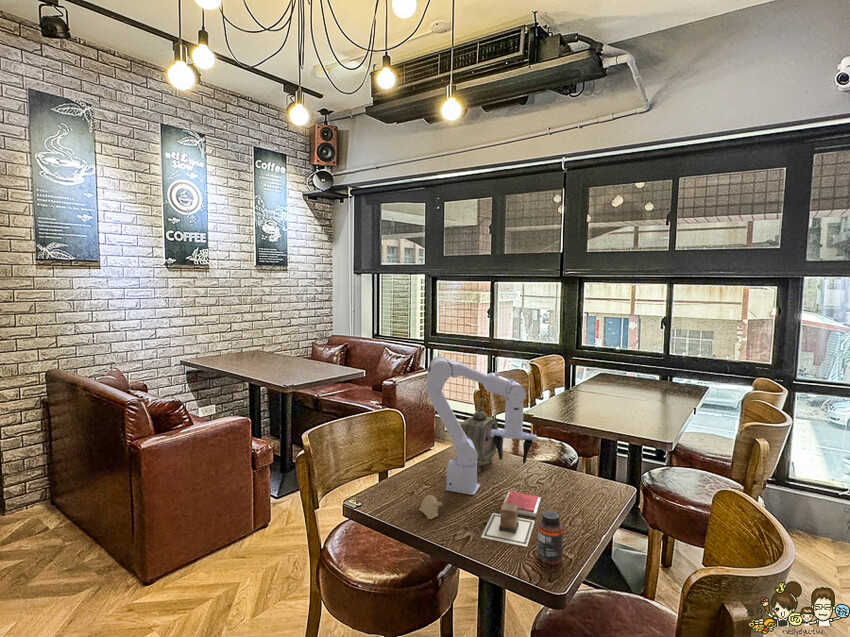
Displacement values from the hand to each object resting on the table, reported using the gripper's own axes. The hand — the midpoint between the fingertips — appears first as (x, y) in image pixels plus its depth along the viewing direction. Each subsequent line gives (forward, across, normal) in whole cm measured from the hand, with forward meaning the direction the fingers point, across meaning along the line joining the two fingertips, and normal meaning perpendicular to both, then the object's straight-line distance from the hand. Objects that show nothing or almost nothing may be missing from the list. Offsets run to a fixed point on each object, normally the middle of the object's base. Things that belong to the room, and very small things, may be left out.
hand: (512, 460), depth 157 cm
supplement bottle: (+10, +16, -36) cm, 41 cm away
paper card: (+9, +4, -26) cm, 28 cm away
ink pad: (+9, +5, -11) cm, 15 cm away
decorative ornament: (+10, -19, -26) cm, 34 cm away
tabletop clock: (+10, -15, +14) cm, 23 cm away
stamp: (+9, +4, -26) cm, 28 cm away
